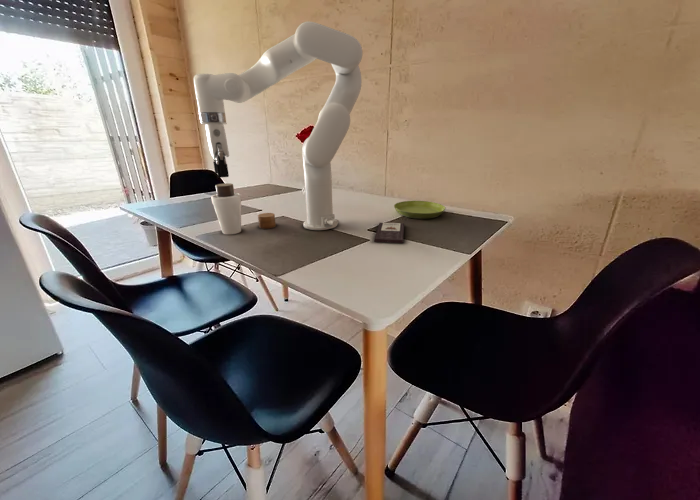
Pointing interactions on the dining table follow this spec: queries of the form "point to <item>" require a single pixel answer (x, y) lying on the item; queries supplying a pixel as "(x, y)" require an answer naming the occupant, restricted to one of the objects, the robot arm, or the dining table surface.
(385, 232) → the chocolate bar
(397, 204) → the saucer
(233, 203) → the foam cup
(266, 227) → the oak base
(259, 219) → the oak chip middle
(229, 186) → the walnut chip
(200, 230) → the dining table surface
